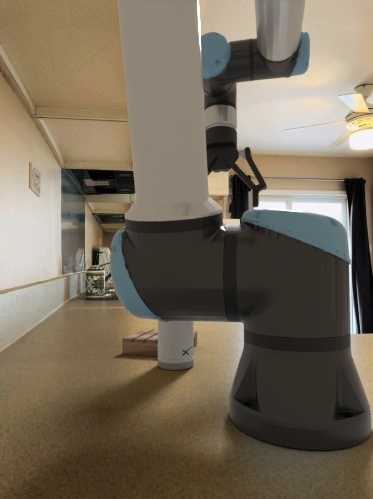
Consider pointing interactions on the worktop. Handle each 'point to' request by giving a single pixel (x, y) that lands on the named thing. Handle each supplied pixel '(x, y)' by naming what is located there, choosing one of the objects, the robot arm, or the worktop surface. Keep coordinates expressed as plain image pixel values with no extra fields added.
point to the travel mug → (175, 345)
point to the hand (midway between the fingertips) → (220, 223)
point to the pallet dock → (144, 343)
